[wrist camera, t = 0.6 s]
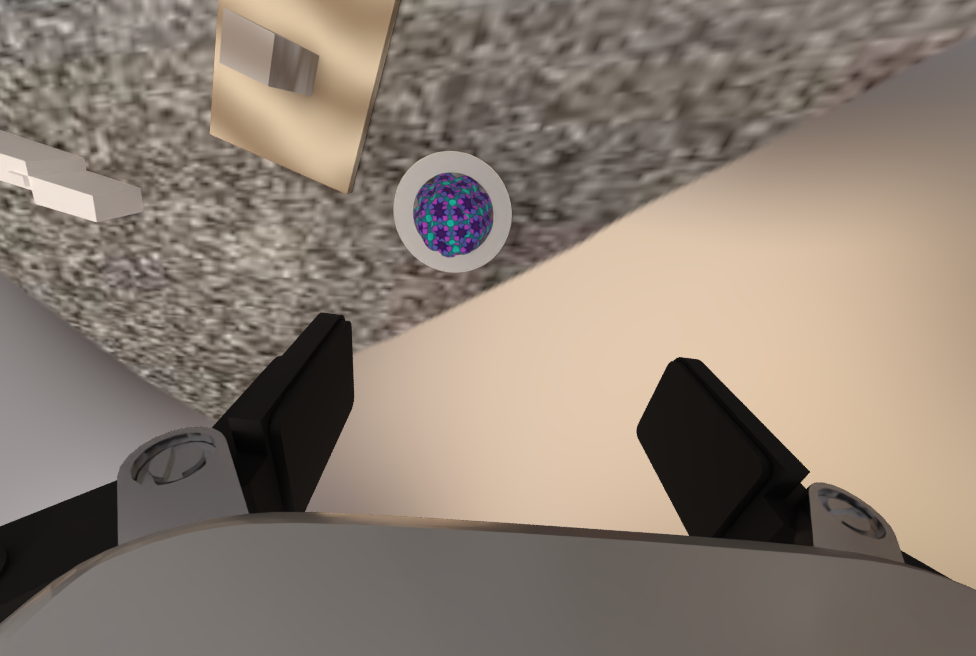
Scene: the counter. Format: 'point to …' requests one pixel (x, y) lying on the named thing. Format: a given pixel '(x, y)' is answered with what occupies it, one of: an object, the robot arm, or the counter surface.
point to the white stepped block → (64, 181)
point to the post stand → (300, 81)
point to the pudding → (452, 212)
